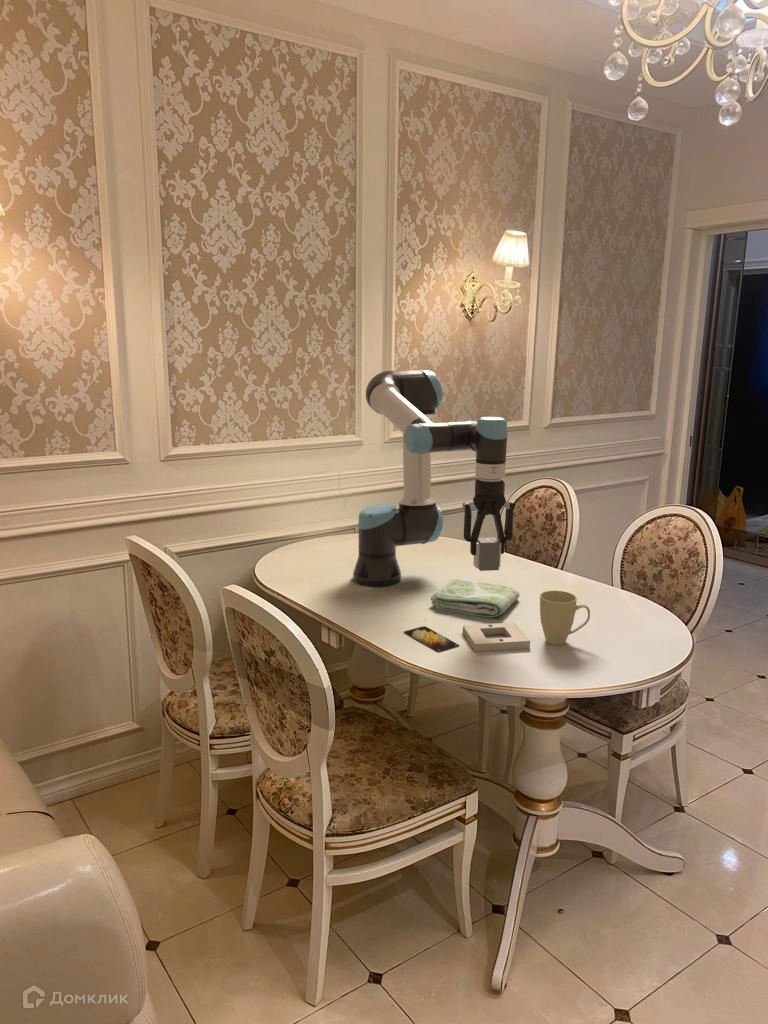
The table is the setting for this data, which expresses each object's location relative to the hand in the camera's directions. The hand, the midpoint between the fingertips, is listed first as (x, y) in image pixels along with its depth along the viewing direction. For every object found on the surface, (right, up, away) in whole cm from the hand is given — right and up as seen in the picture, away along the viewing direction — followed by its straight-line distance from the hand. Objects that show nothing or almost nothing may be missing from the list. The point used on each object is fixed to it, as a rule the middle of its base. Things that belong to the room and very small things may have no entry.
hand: (486, 565), depth 195 cm
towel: (-1, -13, +20) cm, 24 cm away
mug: (+18, -19, -6) cm, 27 cm away
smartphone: (-15, -19, -5) cm, 25 cm away
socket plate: (+1, -19, -6) cm, 19 cm away
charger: (0, 0, 0) cm, 0 cm away
